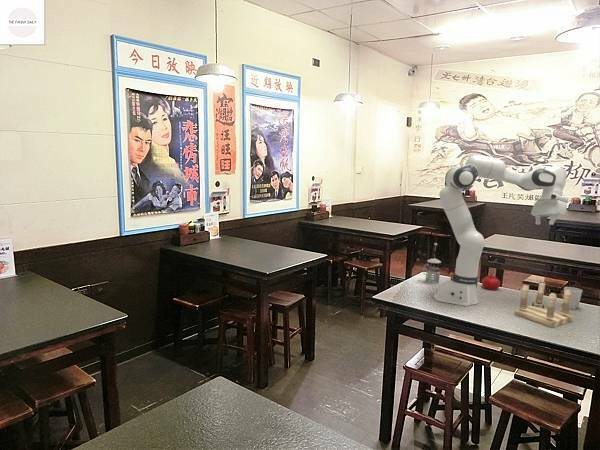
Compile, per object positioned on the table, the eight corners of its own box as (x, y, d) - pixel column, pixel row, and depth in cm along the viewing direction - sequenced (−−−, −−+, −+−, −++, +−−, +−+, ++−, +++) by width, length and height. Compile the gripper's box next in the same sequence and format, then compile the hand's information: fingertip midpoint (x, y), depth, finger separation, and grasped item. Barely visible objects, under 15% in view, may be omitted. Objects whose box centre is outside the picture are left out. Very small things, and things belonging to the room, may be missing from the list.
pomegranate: (491, 292, 243) (492, 276, 242) (477, 286, 252) (479, 272, 250) (503, 290, 247) (505, 275, 246) (489, 285, 256) (491, 270, 254)
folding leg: (541, 303, 211) (545, 281, 214) (535, 301, 213) (539, 280, 216) (542, 304, 213) (546, 283, 217) (535, 303, 215) (539, 282, 218)
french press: (444, 285, 252) (447, 244, 248) (427, 286, 249) (430, 244, 245) (434, 280, 262) (438, 241, 258) (418, 281, 259) (421, 241, 255)
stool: (551, 327, 192) (555, 295, 190) (513, 314, 208) (517, 284, 205) (572, 321, 201) (576, 290, 199) (534, 308, 217) (538, 279, 214)
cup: (582, 310, 217) (585, 292, 215) (565, 309, 218) (567, 290, 216) (575, 305, 224) (578, 287, 223) (559, 304, 226) (561, 286, 224)
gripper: (531, 197, 224) (525, 222, 224) (560, 195, 204) (553, 222, 204) (542, 201, 225) (535, 225, 225) (571, 198, 205) (564, 226, 204)
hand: (544, 224), depth 214 cm, fingers open, 8 cm apart
